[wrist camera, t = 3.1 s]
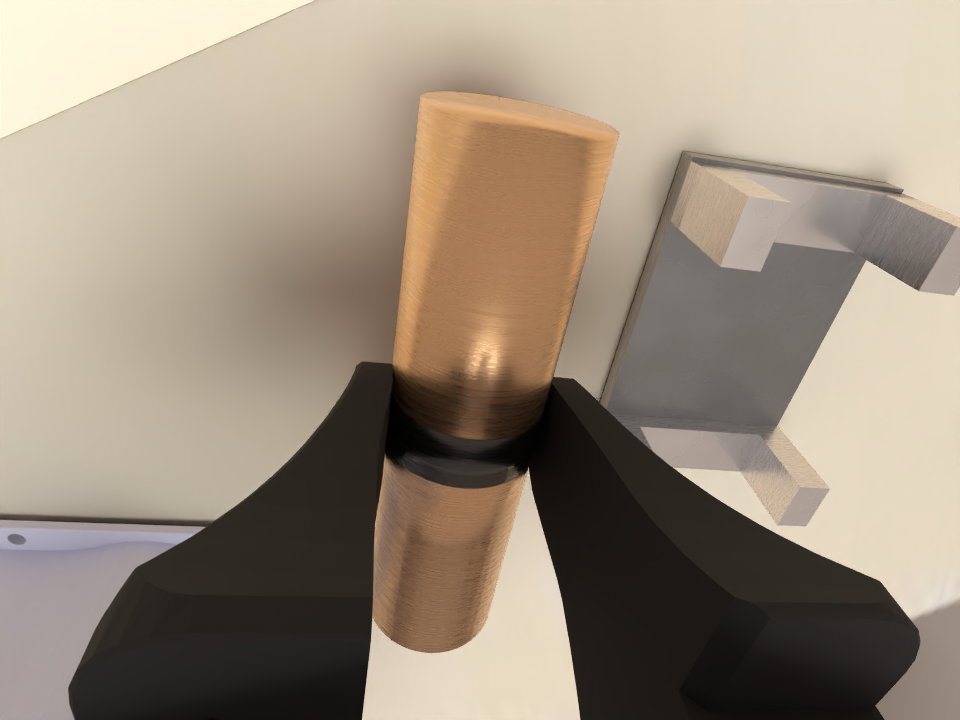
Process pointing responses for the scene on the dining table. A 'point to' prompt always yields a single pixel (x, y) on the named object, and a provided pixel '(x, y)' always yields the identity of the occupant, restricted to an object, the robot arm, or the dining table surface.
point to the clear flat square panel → (105, 46)
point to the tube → (476, 347)
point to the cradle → (757, 310)
